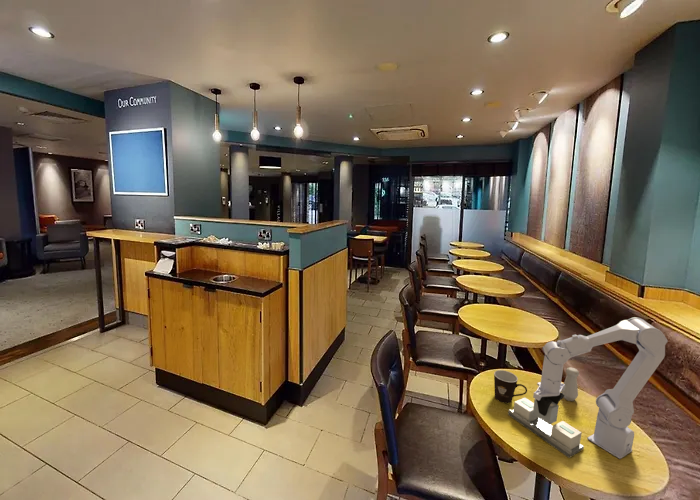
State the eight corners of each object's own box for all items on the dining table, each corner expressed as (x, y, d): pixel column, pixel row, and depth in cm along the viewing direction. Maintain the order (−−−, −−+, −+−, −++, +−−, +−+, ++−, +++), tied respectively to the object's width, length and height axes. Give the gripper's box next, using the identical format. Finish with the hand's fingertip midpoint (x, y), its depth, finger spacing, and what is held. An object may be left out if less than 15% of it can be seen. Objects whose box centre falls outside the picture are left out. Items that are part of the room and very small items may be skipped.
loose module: (556, 421, 110) (558, 405, 109) (549, 424, 108) (551, 408, 107) (539, 410, 115) (541, 395, 114) (532, 413, 113) (534, 398, 112)
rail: (583, 449, 104) (584, 443, 104) (569, 457, 100) (570, 451, 100) (521, 408, 123) (522, 403, 123) (507, 414, 120) (508, 409, 119)
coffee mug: (487, 394, 132) (489, 372, 130) (502, 389, 135) (504, 368, 133) (510, 412, 121) (513, 388, 120) (526, 406, 125) (529, 383, 123)
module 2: (579, 444, 104) (581, 432, 104) (569, 450, 102) (571, 438, 101) (560, 432, 110) (562, 420, 109) (550, 437, 107) (552, 425, 106)
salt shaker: (571, 394, 133) (576, 365, 131) (580, 403, 127) (585, 373, 125) (557, 393, 134) (561, 364, 131) (564, 401, 128) (569, 372, 126)
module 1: (538, 417, 117) (540, 406, 116) (528, 422, 114) (529, 411, 113) (523, 407, 122) (524, 397, 121) (513, 412, 119) (514, 401, 119)
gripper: (552, 366, 115) (547, 399, 118) (526, 375, 109) (522, 411, 111) (573, 376, 109) (567, 411, 111) (547, 387, 103) (541, 424, 105)
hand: (546, 412), depth 111 cm, fingers closed on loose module, 4 cm apart
